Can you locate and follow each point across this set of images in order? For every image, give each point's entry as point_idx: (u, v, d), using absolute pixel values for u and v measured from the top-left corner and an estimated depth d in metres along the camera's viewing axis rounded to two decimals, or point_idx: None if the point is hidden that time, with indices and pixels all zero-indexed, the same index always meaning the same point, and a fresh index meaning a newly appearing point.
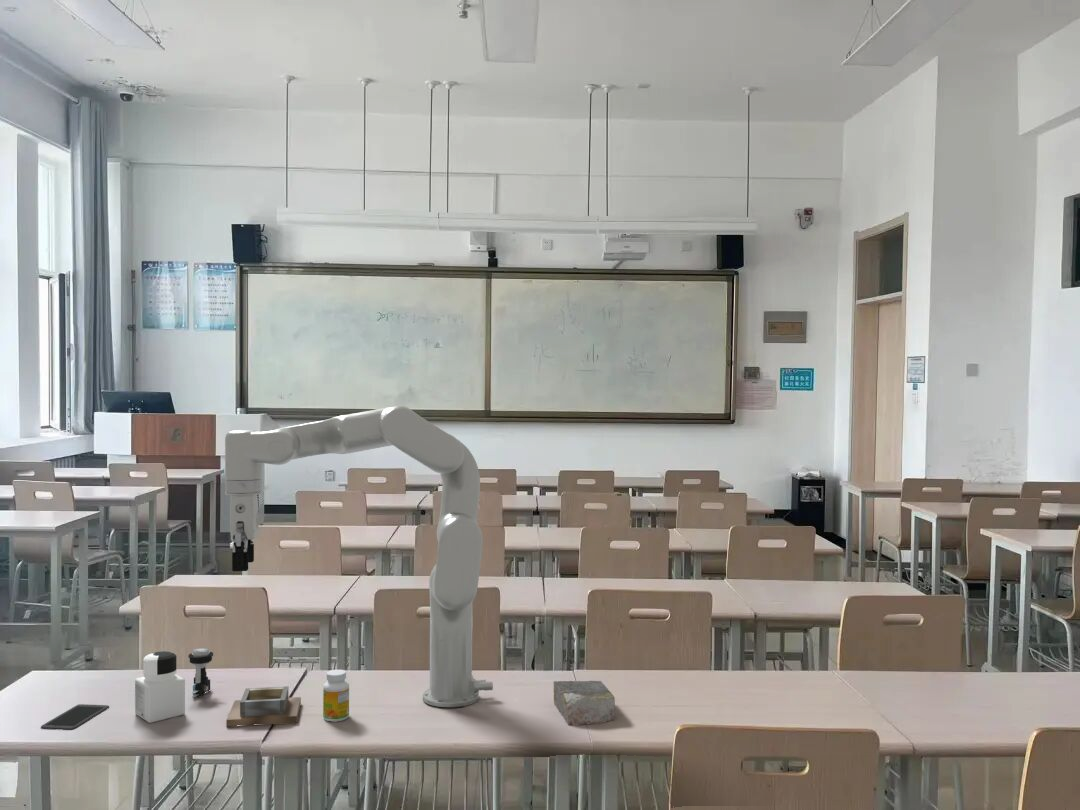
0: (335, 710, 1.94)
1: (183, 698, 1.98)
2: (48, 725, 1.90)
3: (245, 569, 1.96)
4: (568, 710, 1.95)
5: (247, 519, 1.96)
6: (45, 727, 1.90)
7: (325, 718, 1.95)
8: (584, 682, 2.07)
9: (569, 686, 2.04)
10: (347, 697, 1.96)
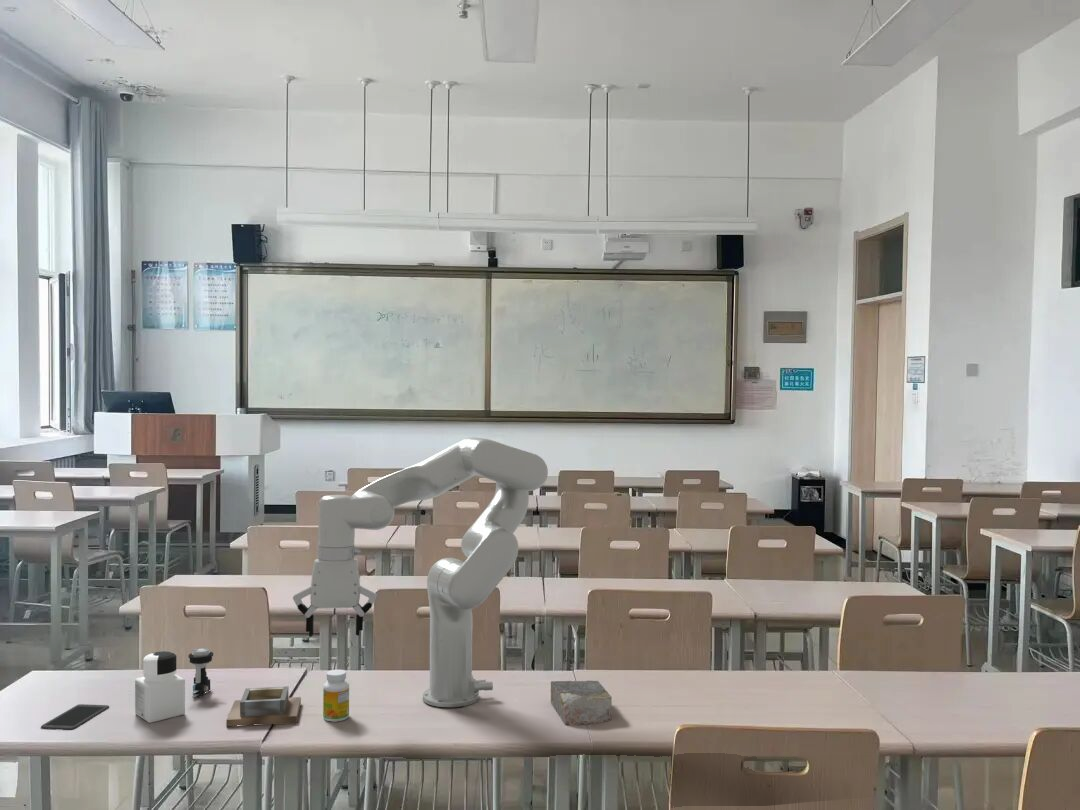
0: (335, 710, 1.94)
1: (183, 698, 1.98)
2: (48, 725, 1.90)
3: None
4: (565, 710, 1.95)
5: None
6: (45, 727, 1.90)
7: (325, 718, 1.95)
8: (581, 682, 2.07)
9: (566, 686, 2.04)
10: (347, 697, 1.96)
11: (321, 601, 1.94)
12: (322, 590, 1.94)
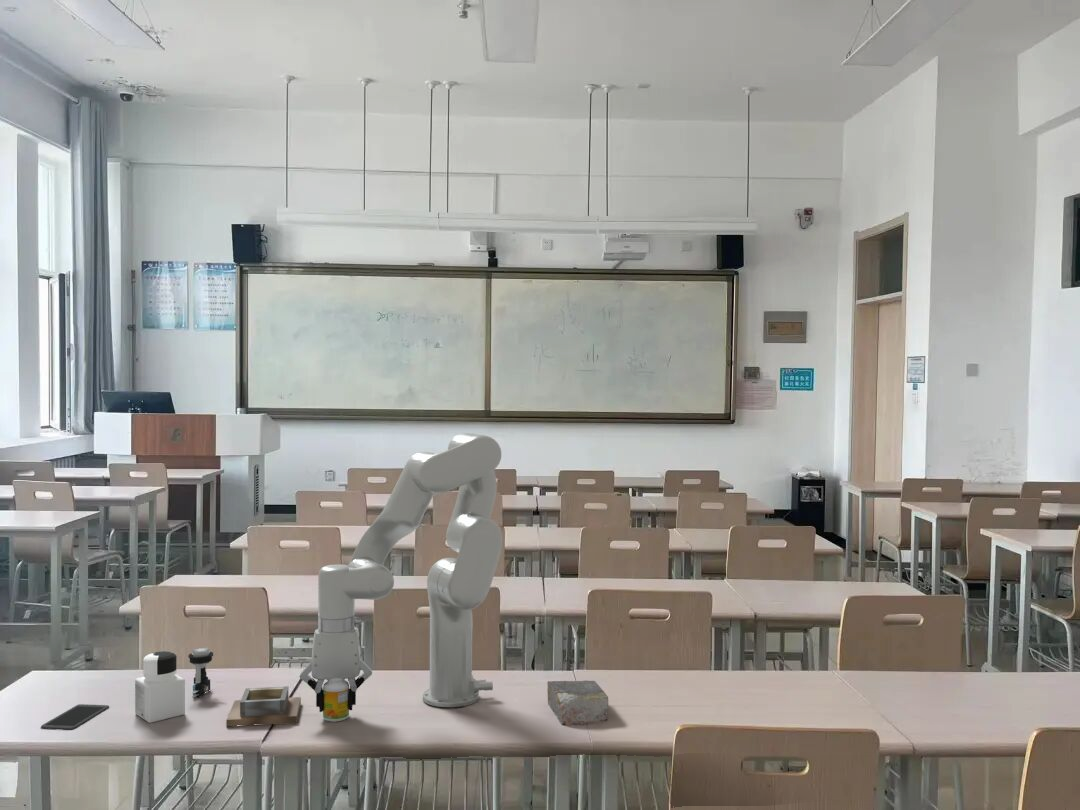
0: (335, 710, 1.94)
1: (183, 698, 1.98)
2: (48, 725, 1.90)
3: None
4: (562, 710, 1.95)
5: None
6: (45, 727, 1.90)
7: (325, 718, 1.95)
8: (578, 682, 2.07)
9: (563, 686, 2.04)
10: (347, 697, 1.96)
11: (322, 672, 1.94)
12: (323, 662, 1.94)
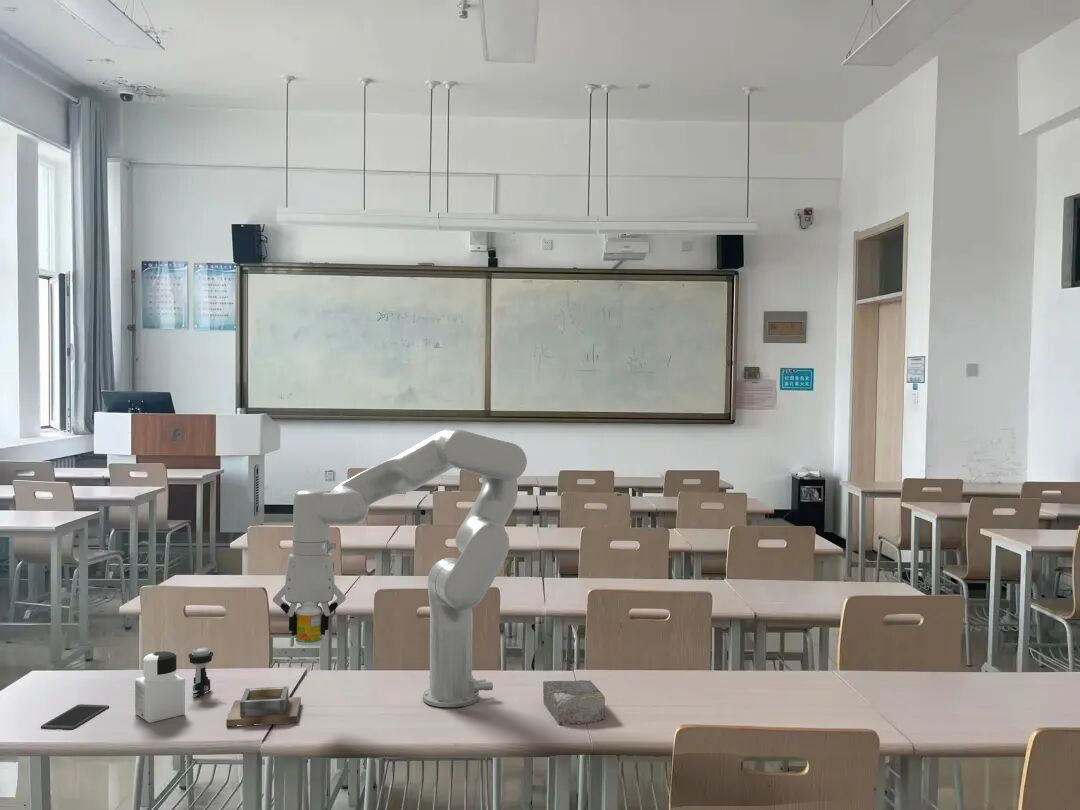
0: (308, 634, 1.94)
1: (183, 698, 1.98)
2: (48, 725, 1.90)
3: None
4: (558, 710, 1.95)
5: None
6: (45, 727, 1.90)
7: (297, 642, 1.95)
8: (574, 682, 2.07)
9: (559, 686, 2.04)
10: (320, 621, 1.96)
11: (295, 596, 1.94)
12: (297, 585, 1.94)
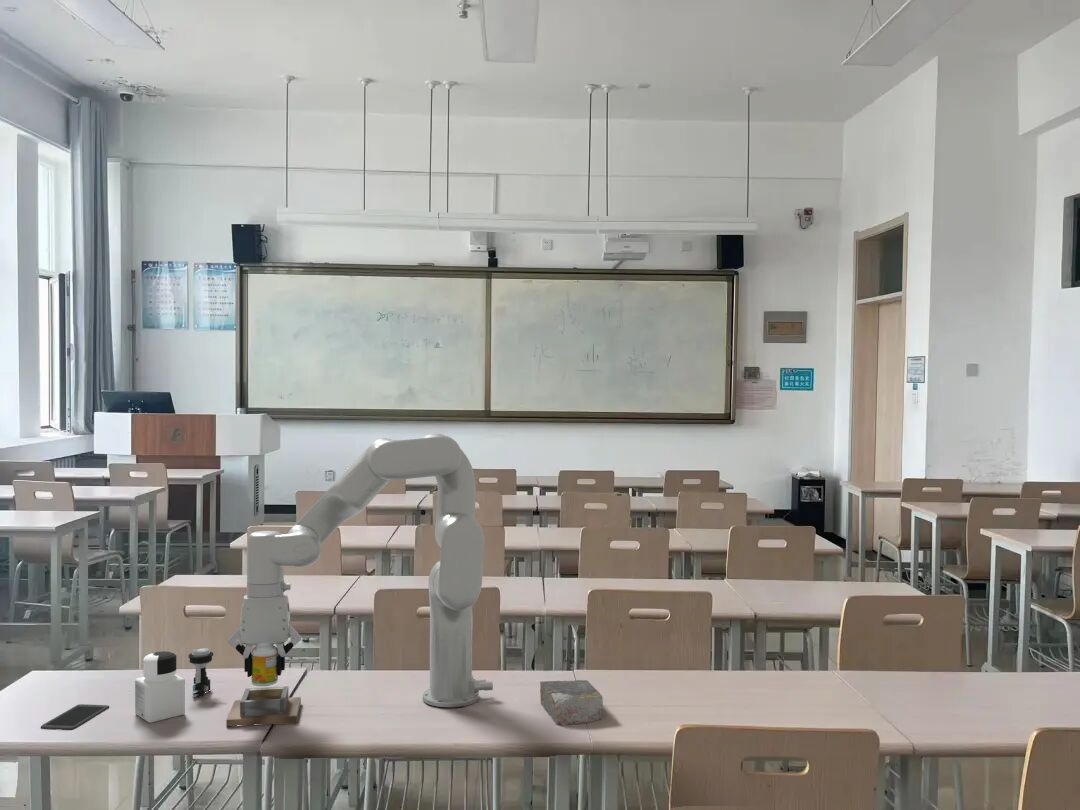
0: (263, 675, 1.96)
1: (183, 698, 1.98)
2: (48, 725, 1.90)
3: (281, 670, 2.00)
4: (556, 710, 1.95)
5: None
6: (45, 727, 1.90)
7: (253, 683, 1.96)
8: (571, 682, 2.07)
9: (557, 686, 2.04)
10: (275, 662, 1.97)
11: (250, 637, 1.95)
12: (251, 627, 1.95)
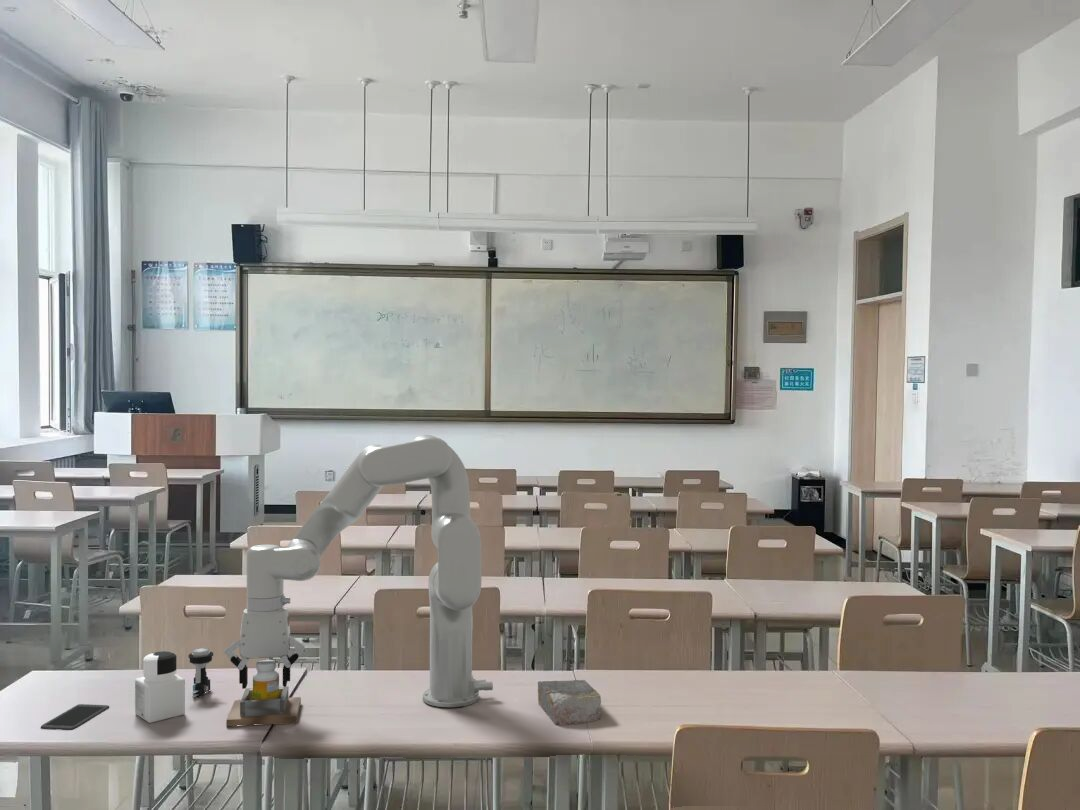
0: None
1: (183, 698, 1.98)
2: (48, 725, 1.90)
3: None
4: (555, 710, 1.95)
5: None
6: (45, 727, 1.90)
7: None
8: (568, 682, 2.07)
9: (554, 686, 2.04)
10: (277, 686, 1.98)
11: (250, 651, 1.95)
12: (251, 641, 1.95)
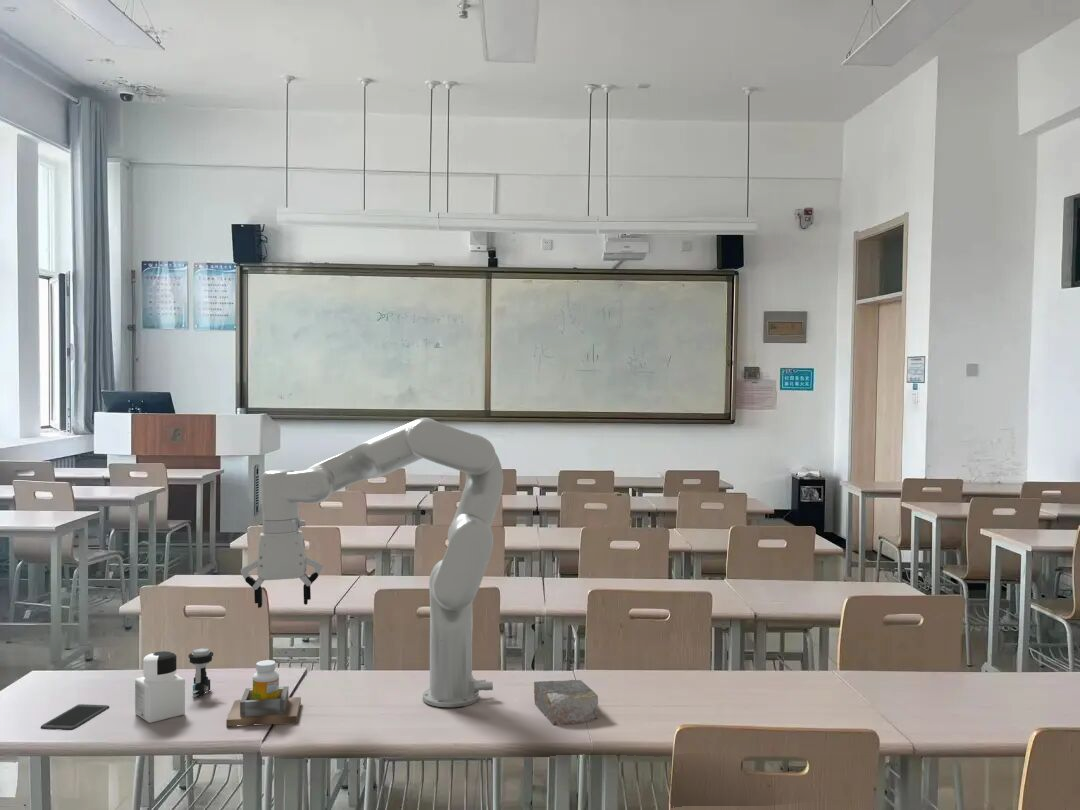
0: None
1: (183, 698, 1.98)
2: (48, 725, 1.90)
3: (307, 600, 2.05)
4: (552, 710, 1.95)
5: (305, 552, 2.05)
6: (45, 727, 1.90)
7: None
8: (564, 681, 2.08)
9: (551, 686, 2.04)
10: (276, 687, 1.98)
11: (268, 573, 2.00)
12: (269, 562, 2.00)
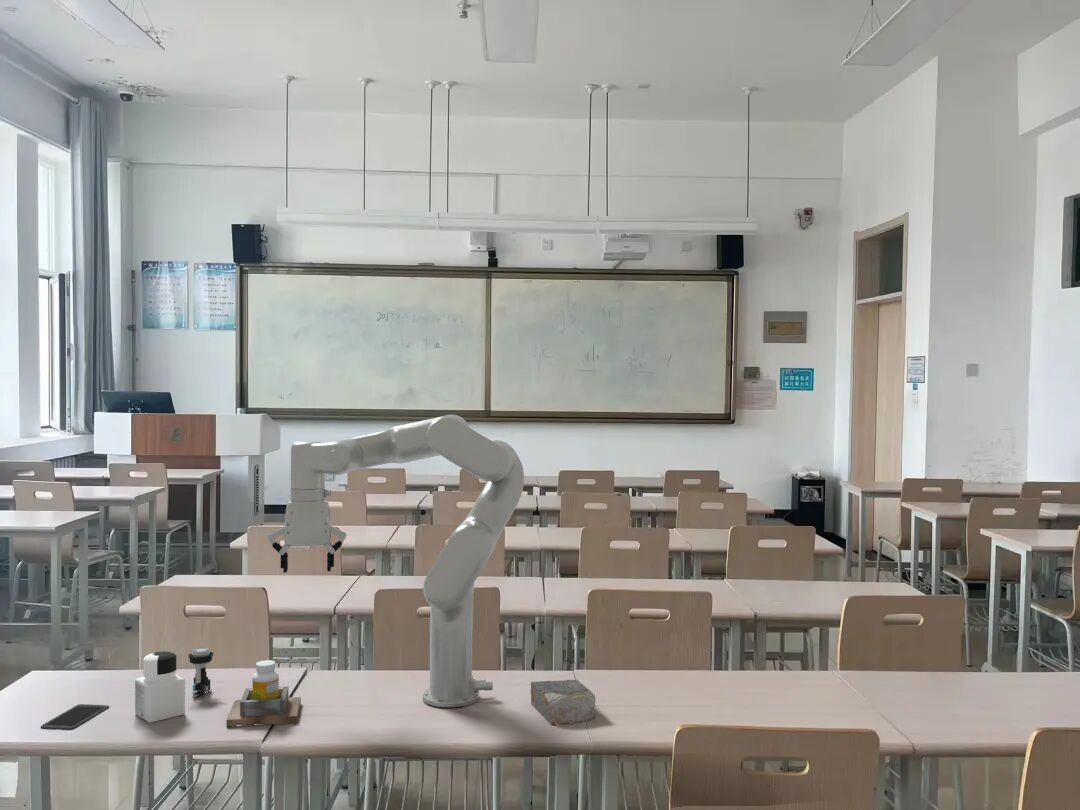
0: None
1: (183, 698, 1.98)
2: (48, 725, 1.90)
3: None
4: (550, 710, 1.95)
5: None
6: (45, 727, 1.90)
7: None
8: (561, 681, 2.08)
9: (548, 686, 2.04)
10: (276, 687, 1.98)
11: (294, 539, 2.08)
12: (295, 529, 2.08)
